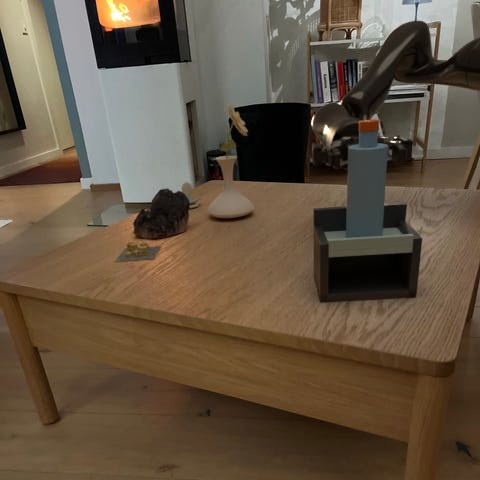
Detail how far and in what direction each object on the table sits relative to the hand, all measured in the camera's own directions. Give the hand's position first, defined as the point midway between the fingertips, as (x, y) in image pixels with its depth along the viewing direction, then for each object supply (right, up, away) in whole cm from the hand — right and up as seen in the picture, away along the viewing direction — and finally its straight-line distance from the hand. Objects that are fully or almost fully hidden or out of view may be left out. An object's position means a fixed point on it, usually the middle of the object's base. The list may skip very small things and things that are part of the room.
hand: (369, 158), depth 65 cm
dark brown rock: (-36, -2, +46) cm, 58 cm away
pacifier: (-32, +8, +64) cm, 72 cm away
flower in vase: (-19, +4, +53) cm, 57 cm away
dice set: (-38, -9, +33) cm, 51 cm away
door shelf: (+1, -17, +10) cm, 20 cm away
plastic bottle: (+1, -10, +6) cm, 12 cm away
